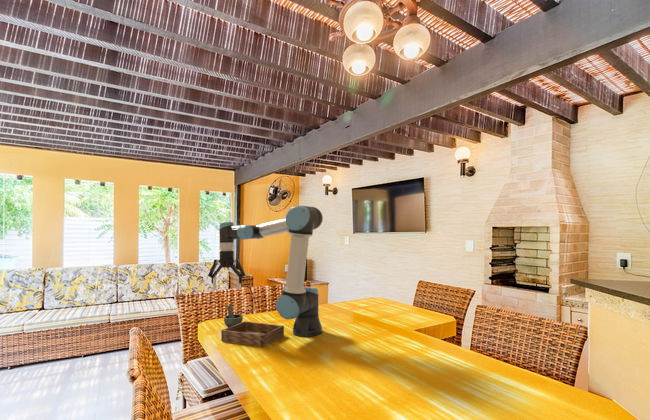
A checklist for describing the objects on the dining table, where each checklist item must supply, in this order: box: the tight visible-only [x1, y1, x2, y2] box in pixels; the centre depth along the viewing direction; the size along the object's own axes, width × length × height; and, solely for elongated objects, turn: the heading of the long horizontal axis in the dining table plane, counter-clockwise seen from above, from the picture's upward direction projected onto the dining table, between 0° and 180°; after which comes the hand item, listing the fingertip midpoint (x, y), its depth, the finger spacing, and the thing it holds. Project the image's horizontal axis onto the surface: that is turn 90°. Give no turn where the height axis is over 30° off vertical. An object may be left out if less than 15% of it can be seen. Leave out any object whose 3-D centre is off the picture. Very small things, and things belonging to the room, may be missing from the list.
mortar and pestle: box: [223, 305, 244, 328], centre depth 189 cm, size 11×9×12 cm
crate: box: [220, 321, 285, 348], centre depth 172 cm, size 24×18×5 cm
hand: (226, 289), depth 190 cm, fingers open, 13 cm apart
